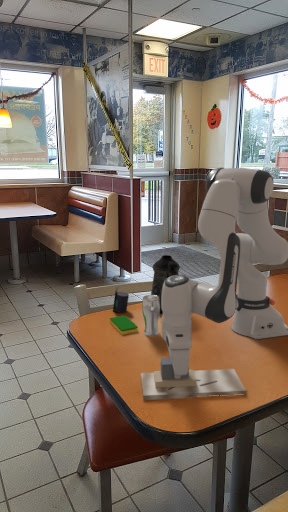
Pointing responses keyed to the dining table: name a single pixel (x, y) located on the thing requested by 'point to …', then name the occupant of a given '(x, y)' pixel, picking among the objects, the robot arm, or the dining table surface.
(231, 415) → the dining table surface
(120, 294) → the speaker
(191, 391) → the marked board
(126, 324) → the dish sponge
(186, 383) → the block
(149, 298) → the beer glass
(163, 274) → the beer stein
